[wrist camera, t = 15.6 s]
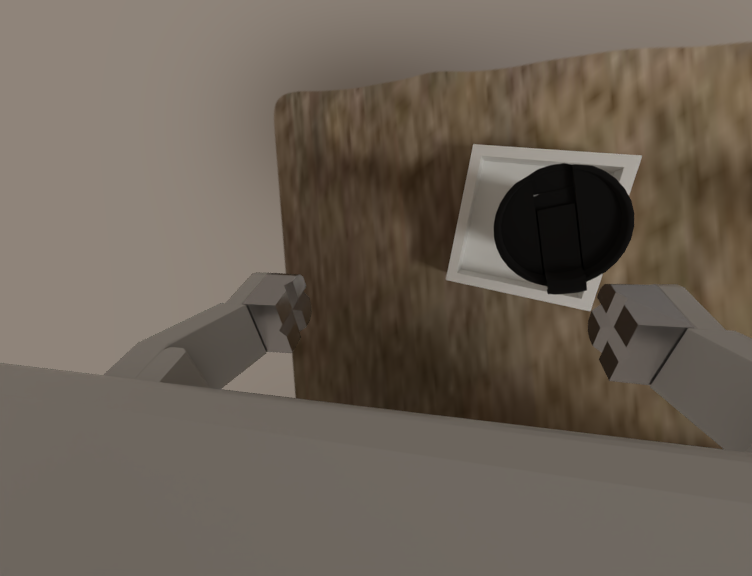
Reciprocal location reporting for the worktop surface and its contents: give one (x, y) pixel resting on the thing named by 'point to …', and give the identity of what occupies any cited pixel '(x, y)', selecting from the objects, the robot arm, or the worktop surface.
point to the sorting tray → (481, 201)
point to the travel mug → (564, 226)
